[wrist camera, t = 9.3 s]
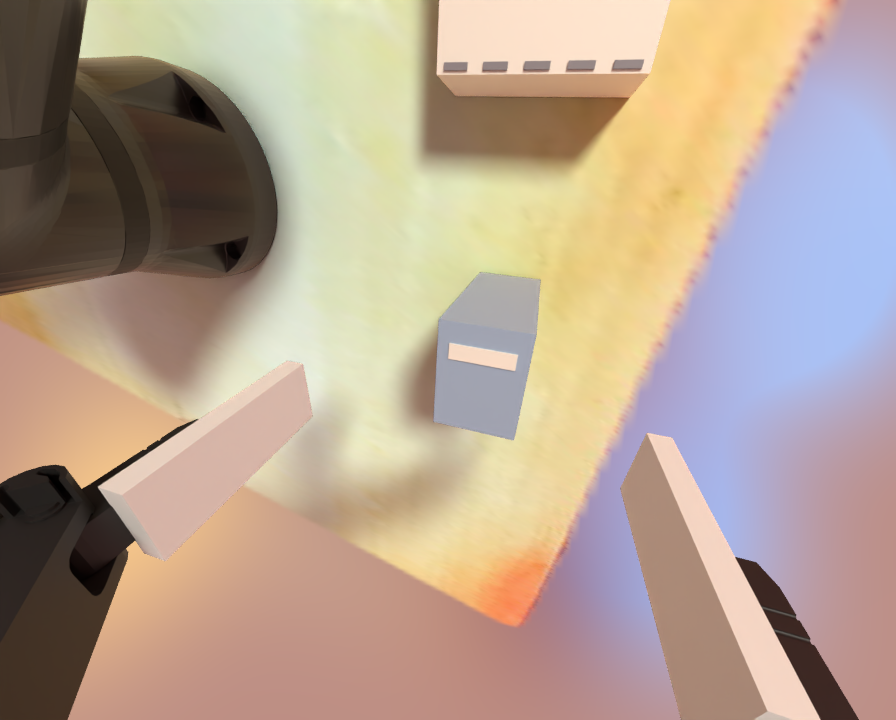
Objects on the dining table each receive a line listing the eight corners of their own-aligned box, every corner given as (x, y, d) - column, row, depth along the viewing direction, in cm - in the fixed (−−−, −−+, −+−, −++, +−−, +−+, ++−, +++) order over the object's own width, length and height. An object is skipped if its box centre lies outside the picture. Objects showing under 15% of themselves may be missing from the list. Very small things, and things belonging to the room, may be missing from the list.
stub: (472, 344, 26) (432, 422, 17) (480, 272, 24) (438, 319, 14) (525, 353, 26) (513, 441, 16) (540, 279, 23) (536, 335, 14)
